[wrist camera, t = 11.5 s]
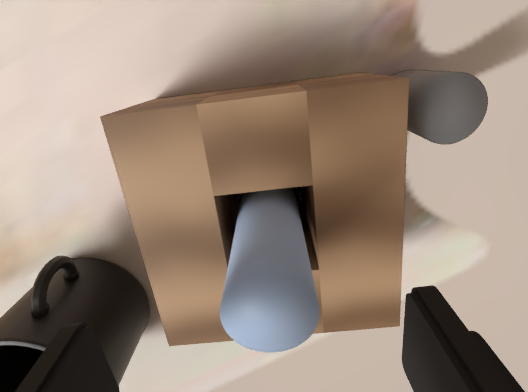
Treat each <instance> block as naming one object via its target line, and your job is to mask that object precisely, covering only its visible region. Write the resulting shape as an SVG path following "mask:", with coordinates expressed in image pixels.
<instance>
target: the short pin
mask: <svg viewBox="0 0 528 392" xmlns="http://www.w3.org/2000/svg"><path fill="white" fill-rule="evenodd" d="M393 76H397V77H406V78H409V95H408V121H407V130H408V131H410V132H412V133H414V134H417V135H419V136H421V137H423V138H425V139H427V140H429V141H431V142H434V143H437V144H452V143H456V142H458V141H461V140H463V139H465V138H466V137H468V136H469V135H470V134H472V133H473V132H474V131H475V130H476V129H477V128H478V126H479V125H480V124H481V122H482V120H483V118H484V116H485V113H486V111H487V105H488V97H487V92H486V89H485V87H484V85H483V84H482V83H481V81H480V80H479V79H477V78H476V77H475V76H473V75H471V74H468V73H462V72H445V71H426V70H404V71H401V72H398V73H396V74H395V75H393Z"/></svg>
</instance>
